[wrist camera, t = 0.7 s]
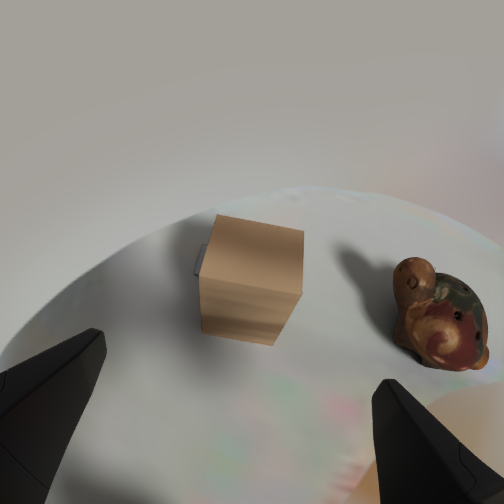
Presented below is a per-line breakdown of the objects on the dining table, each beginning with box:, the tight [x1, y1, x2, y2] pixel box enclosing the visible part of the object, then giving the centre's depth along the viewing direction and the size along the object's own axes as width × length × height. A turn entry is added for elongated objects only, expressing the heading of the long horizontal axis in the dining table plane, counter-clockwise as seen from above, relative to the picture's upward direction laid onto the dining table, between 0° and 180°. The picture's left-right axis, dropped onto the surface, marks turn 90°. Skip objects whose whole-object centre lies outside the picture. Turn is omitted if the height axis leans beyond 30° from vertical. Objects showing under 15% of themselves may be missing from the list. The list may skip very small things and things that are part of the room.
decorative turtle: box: [393, 257, 489, 371], centre depth 23 cm, size 10×15×8 cm, turn 57°
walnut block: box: [199, 215, 304, 346], centre depth 22 cm, size 5×6×9 cm
